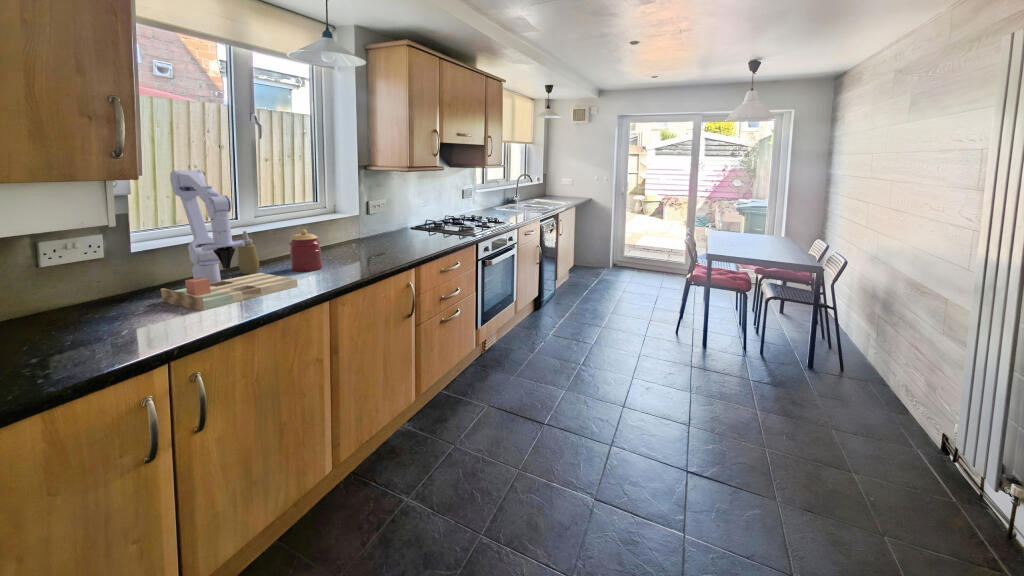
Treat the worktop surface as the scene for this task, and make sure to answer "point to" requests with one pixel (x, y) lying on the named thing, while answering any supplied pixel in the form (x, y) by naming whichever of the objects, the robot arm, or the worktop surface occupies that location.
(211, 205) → the robot arm
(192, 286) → the block
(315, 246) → the canister
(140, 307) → the worktop surface
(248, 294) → the board
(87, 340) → the worktop surface
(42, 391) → the worktop surface
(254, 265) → the squeeze bottle
